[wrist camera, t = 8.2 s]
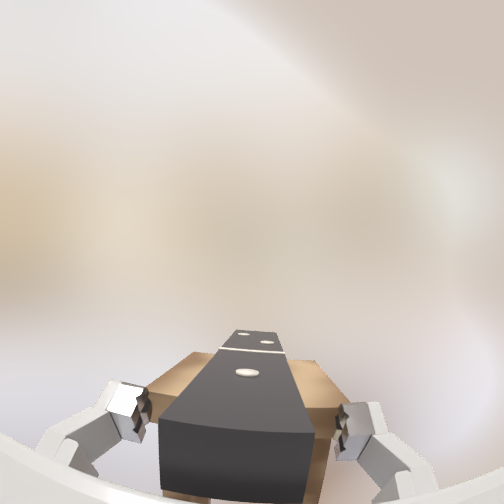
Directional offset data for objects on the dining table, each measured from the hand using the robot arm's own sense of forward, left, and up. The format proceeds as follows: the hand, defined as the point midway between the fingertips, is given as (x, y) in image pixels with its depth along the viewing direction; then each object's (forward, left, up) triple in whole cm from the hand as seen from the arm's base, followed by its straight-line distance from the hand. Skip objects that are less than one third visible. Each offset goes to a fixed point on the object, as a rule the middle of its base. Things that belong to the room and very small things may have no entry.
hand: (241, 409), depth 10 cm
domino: (0, +8, -2) cm, 8 cm away
